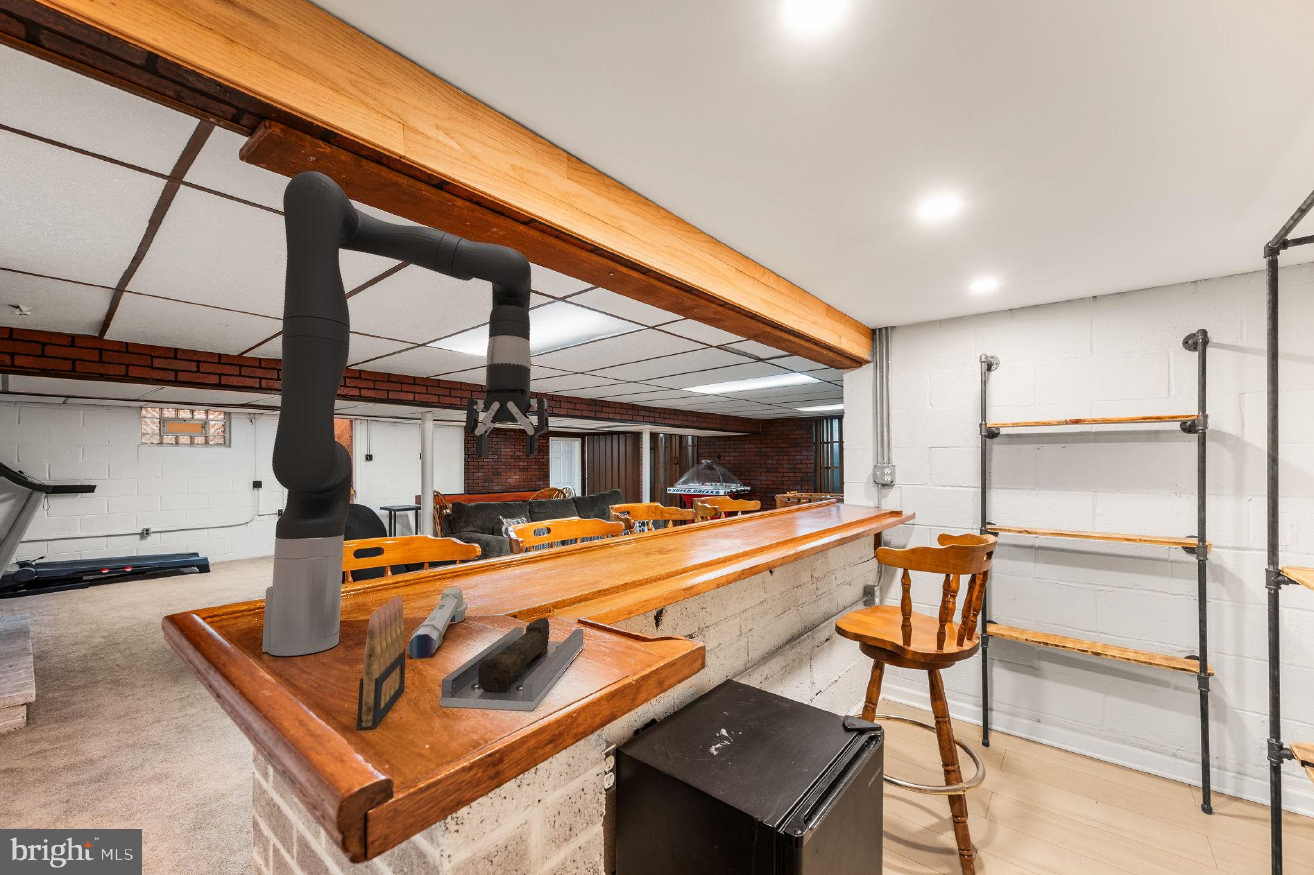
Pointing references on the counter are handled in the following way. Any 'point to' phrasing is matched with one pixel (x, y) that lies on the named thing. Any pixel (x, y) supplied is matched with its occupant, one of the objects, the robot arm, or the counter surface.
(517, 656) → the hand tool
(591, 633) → the counter surface
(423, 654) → the grey plastic handle
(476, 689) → the grey channel tray
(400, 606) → the ammunition clip
